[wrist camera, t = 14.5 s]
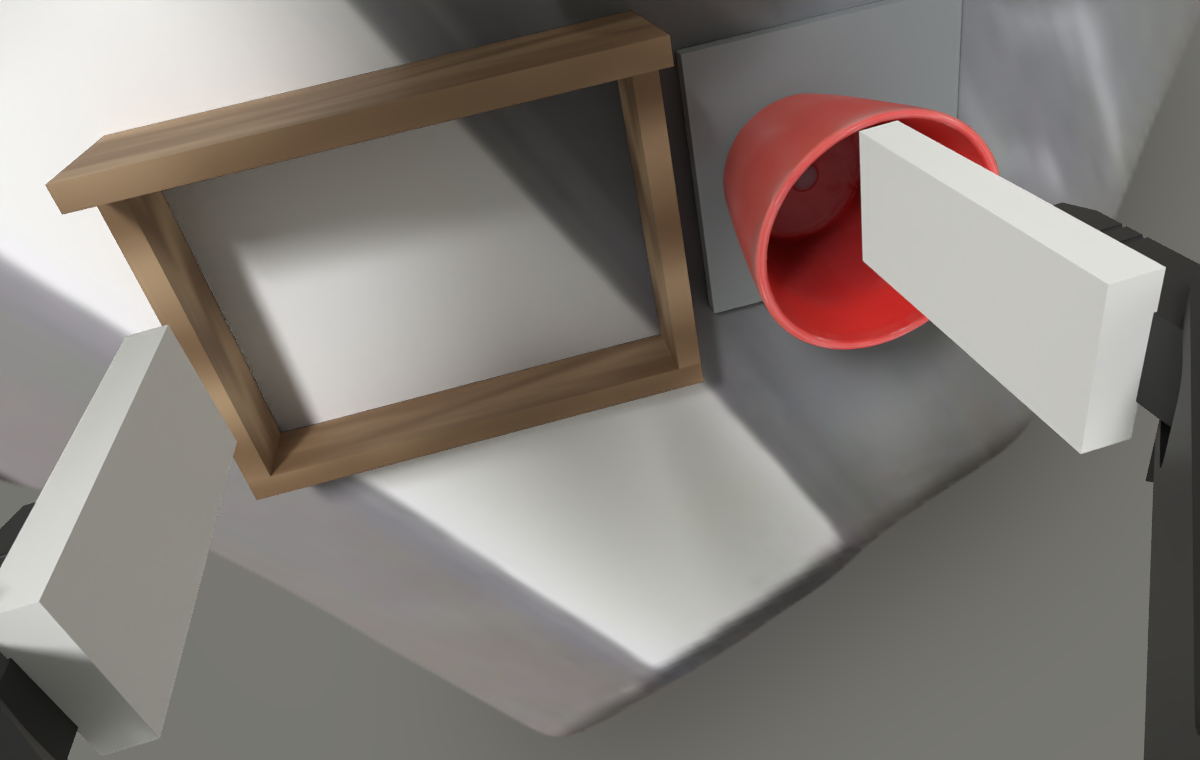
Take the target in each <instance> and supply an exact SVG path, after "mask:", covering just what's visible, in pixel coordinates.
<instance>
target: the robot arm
mask: <svg viewBox="0 0 1200 760" xmlns="http://www.w3.org/2000/svg"><path fill="white" fill-rule="evenodd" d="M859 142H860V179H861V215H862V252H863V261H864V262H865V263H866V264H867V265H868V266H869V267H870V268H872V269H873V270H874V271H875V272H876V273H877V274H878V275H879V276H881V277H882V278H883V279H884V280H885V281H886V282H887V283H888V284H890V285H891V286H892V287H893V288H894V289H895V290H896V291H897V292H899V293H900V294H901V295H902V296H903V297H904V298H905V299H906V300H908V301H909V302H910V303H911V304H912V305H913V306H914V307H916V308H917V309H918V310H919V311H920V312H921V313H922V314H923V315H925V316H926V317H927V318H928V319H929V320H930V321H931V322H932V323H934V324H935V325H936V326H937V327H938V328H939V329H940V330H941V331H943V332H944V333H945V334H946V335H947V336H948V337H949V338H951V339H952V340H953V341H954V342H955V343H956V344H957V345H958V346H960V347H961V348H962V349H963V350H964V351H965V352H966V353H967V354H969V355H970V356H971V357H972V358H973V359H974V360H975V361H976V362H978V363H979V364H980V365H981V366H982V367H983V368H984V369H985V370H987V371H988V372H989V373H990V374H991V375H992V376H993V377H995V378H996V379H997V380H998V381H999V382H1000V383H1001V384H1002V385H1004V386H1005V387H1006V388H1007V389H1008V390H1009V391H1010V392H1011V393H1013V394H1014V395H1015V396H1016V397H1017V398H1018V399H1019V400H1020V401H1022V402H1023V403H1024V404H1025V405H1026V406H1027V407H1028V408H1030V409H1031V410H1032V411H1033V412H1034V413H1035V414H1036V415H1037V416H1039V417H1040V418H1041V419H1042V420H1043V421H1044V422H1045V423H1047V424H1048V425H1049V426H1050V427H1051V428H1052V429H1053V430H1054V431H1055V432H1057V433H1058V434H1059V435H1060V436H1061V437H1062V438H1064V440H1066V441H1067V442H1068V443H1069V444H1070V445H1071V446H1073V447H1074V448H1075V449H1076V450H1077V451H1078V452H1079V453H1080V454H1082V453H1086V452H1089V451H1092V450H1095V449H1099V448H1102V447H1105V446H1108V445H1112V444H1114V443H1118V442H1121V441H1124V440H1128V439H1131V436H1132V431H1133V426H1134V421H1135V416H1136V411H1137V406H1138V403H1139V404H1140V405H1141V406H1143V407H1144V408H1145V409H1147V410H1148V411H1149V412H1151V413H1152V414H1154V415H1155V416H1156V417H1157V418H1159V419H1160V420H1159V424H1158V429H1157V433H1156V438H1155V443H1154V447H1153V451H1152V456H1151V460H1150V464H1149V469H1148V473H1147V477H1146V481H1149V482H1153V483H1154V484H1153V511H1152V540H1151V570H1150V597H1149V599H1150V600H1149V627H1148V657H1147V684H1146V713H1145V714H1146V715H1145V741H1144V742H1145V743H1144V760H1200V264H1198V263H1196V262H1194V261H1192V260H1190V259H1188V258H1186V257H1184V256H1183V255H1181V254H1179V253H1177V252H1175V251H1173V250H1171V249H1169V248H1167V247H1165V246H1163V245H1161V244H1159V243H1158V242H1156V241H1154V240H1152V239H1150V238H1148V237H1147V238H1143V237H1142V234H1140V233H1138V232H1136V231H1135V230H1132V229H1131V228H1129V227H1122V224H1121V223H1119V222H1117V221H1115V220H1113V219H1111V218H1110V217H1108V216H1106V215H1104V214H1102V213H1100V212H1098V211H1096V210H1091V209H1087V208H1083V207H1079V206H1075V205H1070V204H1066V203H1059V204H1056V205H1051V204H1049V203H1047V202H1046V201H1044V200H1042V199H1040V198H1038V197H1036V196H1035V195H1033V194H1031V193H1029V192H1027V191H1025V190H1024V189H1022V188H1020V187H1018V186H1016V185H1014V184H1013V183H1011V182H1009V181H1007V180H1005V179H1004V178H1002V177H1000V176H998V175H996V174H994V173H993V172H991V171H989V170H987V169H985V168H983V167H982V166H980V165H978V164H976V163H974V162H972V161H971V160H969V159H967V158H965V157H963V156H961V155H960V154H958V153H956V152H954V151H952V150H951V149H949V148H947V147H945V146H943V145H941V144H940V143H938V142H936V141H934V140H932V139H930V138H929V137H927V136H925V135H923V134H921V133H919V132H918V131H916V130H914V129H912V128H910V127H909V126H907V125H905V124H903V123H901V122H899V121H898V120H897V121H894V122H890V123H887V124H883V125H879V126H876V127H872V128H869V129H865V130H862V131H859ZM236 444H237V441H236V439H235V438H234V436H233V434H232V433H231V431H230V429H229V427H228V426H227V424H226V422H225V421H224V419H223V417H222V416H221V414H220V412H219V410H218V409H217V407H216V405H215V404H214V402H213V400H212V398H211V397H210V395H209V393H208V392H207V390H206V388H205V386H204V385H203V383H202V381H201V380H200V378H199V376H198V374H197V373H196V371H195V369H194V368H193V366H192V364H191V363H190V361H189V359H188V357H187V356H186V354H185V352H184V351H183V349H182V347H181V345H180V344H179V342H178V340H177V339H176V337H175V335H174V333H173V332H172V330H171V328H170V327H169V325H165V326H161V327H158V328H154V329H151V330H147V331H143V332H140V333H136V334H133V335H129V336H126V337H125V339H124V341H123V343H122V344H121V346H120V348H119V350H118V352H117V354H116V355H115V357H114V359H113V361H112V363H111V365H110V367H109V368H108V370H107V372H106V374H105V376H104V378H103V379H102V381H101V383H100V385H99V387H98V389H97V390H96V392H95V394H94V396H93V398H92V400H91V402H90V403H89V405H88V407H87V409H86V411H85V413H84V414H83V416H82V418H81V420H80V422H79V424H78V426H77V427H76V429H75V431H74V433H73V435H72V437H71V438H70V440H69V442H68V444H67V446H66V448H65V449H64V451H63V453H62V455H61V457H60V459H59V461H58V462H57V464H56V466H55V468H54V470H53V472H52V473H51V475H50V477H49V479H48V481H47V483H46V485H45V486H44V488H43V490H42V492H41V494H40V496H39V498H38V499H37V501H36V502H35V503H31V504H28V505H25V506H23V507H22V508H21V509H20V510H19V511H18V512H17V513H16V514H15V515H14V516H13V517H12V518H11V519H10V520H9V521H8V522H7V523H6V524H5V525H4V526H3V527H2V528H1V529H0V760H68V759H67V758H68V755H69V752H70V749H71V746H72V743H73V740H74V738H75V735H76V732H77V731H78V732H79V733H80V734H81V735H82V736H83V737H84V738H85V739H86V740H87V741H88V742H89V743H90V744H91V745H92V746H93V747H94V748H95V749H96V750H97V751H98V752H99V753H100V754H101V756H103V755H107V754H110V753H113V752H117V751H120V750H123V749H126V748H129V747H133V746H136V745H139V744H142V743H146V742H149V741H152V740H155V739H159V738H160V735H161V731H162V727H163V723H164V719H165V715H166V712H167V708H168V704H169V700H170V697H171V693H172V689H173V685H174V681H175V677H176V674H177V670H178V666H179V662H180V658H181V654H182V651H183V646H184V643H185V639H186V635H187V631H188V627H189V624H190V620H191V616H192V612H193V608H194V605H195V601H196V597H197V593H198V589H199V585H200V582H201V578H202V574H203V570H204V566H205V562H206V558H207V555H208V551H209V547H210V543H211V539H212V536H213V532H214V528H215V524H216V520H217V516H218V513H219V509H220V505H221V501H222V497H223V493H224V490H225V486H226V482H227V478H228V474H229V470H230V467H231V463H232V459H233V455H234V451H235V447H236Z"/></svg>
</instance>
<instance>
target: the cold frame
mask: <svg viewBox="0 0 1200 760" xmlns="http://www.w3.org/2000/svg"><path fill="white" fill-rule="evenodd" d="M673 66H674V62H673V54H672V47H671V39H670V35H669V34H668V33H666V32H665V31H663V30H661V29H660V28H658V27H657V26H655V25H654V24H652V23H651V22H649V21H647V20H646V19H644V18H643V17H641V16H640V15H638V14H636V13H635V12H633V11H632V10H631V11H627V12H622V13H618V14H614V15H610V16H606V17H601V18H597V19H593V20H589V21H585V22H580V23H576V24H572V25H568V26H564V27H559V28H555V29H551V30H547V31H543V32H538V33H534V34H530V35H526V36H522V37H517V38H513V39H509V40H505V41H501V42H496V43H492V44H488V45H484V46H479V47H475V48H471V49H467V50H463V51H458V52H454V53H450V54H446V55H442V56H437V57H433V58H429V59H425V60H421V61H416V62H412V63H408V64H404V65H400V66H395V67H391V68H387V69H383V70H379V71H374V72H370V73H366V74H362V75H358V76H353V77H349V78H345V79H341V80H336V81H332V82H328V83H324V84H320V85H315V86H311V87H307V88H303V89H299V90H294V91H290V92H286V93H282V94H278V95H273V96H269V97H265V98H261V99H257V100H252V101H248V102H244V103H240V104H236V105H231V106H227V107H223V108H219V109H214V110H210V111H206V112H202V113H198V114H193V115H189V116H185V117H181V118H177V119H172V120H168V121H164V122H160V123H156V124H151V125H147V126H143V127H139V128H135V129H130V130H126V131H122V132H118V133H114V134H109V135H105V136H103V137H102V138H101V139H100V140H98V141H97V142H96V143H95V144H94V145H92V146H91V147H90V148H89V149H88V150H86V151H85V152H84V153H83V154H82V155H80V156H79V157H78V158H77V159H76V160H74V161H73V162H72V163H71V164H70V165H68V166H67V167H66V168H65V169H64V170H62V171H61V172H60V173H59V174H58V175H56V176H55V177H54V178H53V179H52V180H50V181H49V182H48V183H47V184H46V187H47V189H48V191H49V192H50V194H51V196H52V198H53V199H54V201H55V203H56V205H57V206H58V208H59V210H60V212H61V213H62V214H67V213H71V212H75V211H79V210H83V209H87V208H91V207H95V206H97V207H98V209H99V211H100V212H101V214H102V216H103V218H104V220H105V222H106V224H107V225H108V227H109V229H110V231H111V233H112V235H113V236H114V238H115V240H116V242H117V244H118V246H119V247H120V249H121V251H122V253H123V255H124V257H125V258H126V260H127V262H128V264H129V266H130V268H131V270H132V271H133V273H134V275H135V277H136V279H137V281H138V282H139V284H140V286H141V288H142V290H143V292H144V293H145V295H146V297H147V299H148V301H149V303H150V304H151V306H152V308H153V310H154V312H155V314H156V316H157V317H158V319H159V321H160V323H161V325H162V326H165V325H169V327H170V328H171V330H172V332H173V333H174V335H175V337H176V339H177V340H178V342H179V344H180V345H181V347H182V349H183V351H184V352H185V354H186V356H187V357H188V359H189V361H190V363H191V364H192V366H193V368H194V369H195V371H196V373H197V374H198V376H199V378H200V380H201V381H202V383H203V385H204V386H205V388H206V390H207V392H208V393H209V395H210V397H211V398H212V400H213V402H214V404H215V405H216V407H217V409H218V410H219V412H220V414H221V416H222V417H223V419H224V421H225V422H226V424H227V426H228V427H229V429H230V431H231V433H232V434H233V436H234V438H235V439H236V441H237V444H236V447H235V451H234V455H233V457H234V459H235V461H236V463H237V465H238V466H239V468H240V470H241V472H242V474H243V476H244V477H245V479H246V481H247V483H248V485H249V487H250V489H251V490H252V492H253V494H254V496H255V498H256V500H259V499H263V498H267V497H270V496H274V495H278V494H282V493H286V492H289V491H293V490H297V489H301V488H304V487H308V486H312V485H316V484H319V483H323V482H327V481H331V480H335V479H338V478H342V477H346V476H350V475H353V474H357V473H361V472H365V471H368V470H372V469H376V468H380V467H384V466H387V465H391V464H395V463H399V462H402V461H406V460H410V459H414V458H418V457H421V456H425V455H429V454H433V453H436V452H440V451H444V450H448V449H451V448H455V447H459V446H463V445H467V444H470V443H474V442H478V441H482V440H485V439H489V438H493V437H497V436H500V435H504V434H508V433H512V432H516V431H519V430H523V429H527V428H531V427H534V426H538V425H542V424H546V423H550V422H553V421H557V420H561V419H565V418H568V417H572V416H576V415H580V414H583V413H587V412H591V411H595V410H599V409H602V408H606V407H610V406H614V405H617V404H621V403H625V402H629V401H632V400H636V399H640V398H644V397H648V396H651V395H655V394H659V393H663V392H666V391H670V390H674V389H678V388H682V387H685V386H689V385H693V384H697V383H700V382H704V381H703V374H702V368H701V361H700V354H699V347H698V340H697V333H696V326H695V319H694V312H693V305H692V298H691V291H690V284H689V277H688V270H687V263H686V257H685V250H684V243H683V236H682V229H681V222H680V215H679V208H678V201H677V194H676V187H675V180H674V173H673V166H672V159H671V153H670V146H669V139H668V132H667V125H666V118H665V111H664V104H663V97H662V90H661V83H660V76H659V70H661V69H665V68H669V67H673ZM615 80H617V81H618V87H619V93H620V98H621V104H622V110H623V116H624V122H625V128H626V133H627V139H628V145H629V151H630V157H631V163H632V168H633V174H634V180H635V186H636V192H637V198H638V204H639V209H640V215H641V221H642V227H643V233H644V239H645V244H646V250H647V256H648V262H649V268H650V274H651V279H652V285H653V291H654V297H655V303H656V309H657V315H658V320H659V326H660V332H661V334H659V335H655V336H651V337H648V338H644V339H640V340H636V341H632V342H628V343H625V344H621V345H617V346H613V347H609V348H606V349H602V350H598V351H594V352H590V353H586V354H583V355H579V356H575V357H571V358H567V359H563V360H560V361H556V362H552V363H548V364H544V365H540V366H537V367H533V368H529V369H525V370H521V371H517V372H514V373H510V374H506V375H502V376H498V377H494V378H491V379H487V380H483V381H479V382H475V383H471V384H468V385H464V386H460V387H456V388H452V389H448V390H445V391H441V392H437V393H433V394H429V395H425V396H422V397H418V398H414V399H410V400H406V401H402V402H399V403H395V404H391V405H387V406H383V407H379V408H376V409H372V410H368V411H364V412H360V413H356V414H353V415H349V416H345V417H341V418H337V419H333V420H330V421H326V422H322V423H318V424H314V425H310V426H307V427H303V428H299V429H295V430H291V431H288V432H284V433H281V432H280V430H279V428H278V426H277V424H276V422H275V420H274V418H273V416H272V414H271V412H270V410H269V408H268V406H267V404H266V402H265V400H264V398H263V396H262V394H261V392H260V390H259V388H258V386H257V384H256V382H255V380H254V378H253V376H252V374H251V371H250V369H249V367H248V365H247V363H246V361H245V359H244V357H243V355H242V353H241V351H240V349H239V347H238V345H237V343H236V341H235V339H234V337H233V335H232V333H231V331H230V329H229V327H228V325H227V323H226V321H225V319H224V317H223V315H222V313H221V311H220V309H219V307H218V305H217V303H216V301H215V299H214V297H213V295H212V293H211V291H210V289H209V286H208V284H207V282H206V280H205V278H204V276H203V274H202V272H201V270H200V268H199V266H198V264H197V262H196V260H195V258H194V256H193V254H192V252H191V250H190V248H189V246H188V244H187V242H186V240H185V238H184V236H183V234H182V232H181V230H180V228H179V226H178V224H177V222H176V220H175V218H174V216H173V214H172V212H171V210H170V208H169V206H168V204H167V201H166V199H165V197H164V195H163V193H162V191H161V190H166V189H170V188H174V187H178V186H182V185H186V184H190V183H194V182H199V181H203V180H207V179H211V178H215V177H219V176H223V175H227V174H232V173H236V172H240V171H244V170H248V169H252V168H256V167H260V166H265V165H269V164H273V163H277V162H281V161H285V160H289V159H293V158H298V157H302V156H306V155H310V154H314V153H318V152H322V151H326V150H331V149H335V148H339V147H343V146H347V145H351V144H355V143H359V142H364V141H368V140H372V139H376V138H380V137H384V136H388V135H392V134H397V133H401V132H405V131H409V130H413V129H417V128H421V127H425V126H430V125H434V124H438V123H442V122H446V121H450V120H454V119H458V118H463V117H467V116H471V115H475V114H479V113H483V112H487V111H491V110H496V109H500V108H504V107H508V106H512V105H516V104H520V103H524V102H529V101H533V100H537V99H541V98H545V97H549V96H553V95H557V94H562V93H566V92H570V91H574V90H578V89H582V88H586V87H590V86H595V85H599V84H603V83H607V82H611V81H615Z"/></svg>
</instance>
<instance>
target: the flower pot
mask: <svg viewBox="0 0 1200 760" xmlns="http://www.w3.org/2000/svg"><path fill="white" fill-rule="evenodd" d="M897 120H898V121H899V122H901V123H903V124H905V125H907V126H909V127H910V128H912V129H914V130H916V131H918V132H919V133H921V134H923V135H925V136H927V137H929V138H930V139H932V140H934V141H936V142H938V143H940V144H941V145H943V146H945V147H947V148H949V149H951V150H952V151H954V152H956V153H958V154H960V155H961V156H963V157H965V158H967V159H969V160H971V161H972V162H974V163H976V164H978V165H980V166H982V167H983V168H985V169H987V170H989V171H991V172H993V173H994V174H996V175H998V176H1000V175H999V171H998V167H997V164H996V161H995V159H994V157H993V154H992V153H991V151H990V149H989V148H988V146H987V145H986V143H985V142H984V140H983V139H982V138H981V137H980V136H979V135H978V134H977V133H976V132H975V131H974V130H973V129H972V128H971V127H969V126H968V125H967V124H965V123H964V122H962V121H961V120H959V119H957V118H955V117H953V116H951V115H949V114H946V113H943V112H940V111H936V110H932V109H927V108H922V107H916V106H911V105H904V104H898V103H891V102H884V101H878V100H871V99H865V98H858V97H850V96H842V95H831V94H813V93H804V94H796V95H791V96H788V97H785V98H782V99H780V100H777V101H775V102H773V103H771V104H769V105H768V106H766V107H765V108H763V109H762V110H760V111H759V112H758V113H757V114H756V115H754V116H753V117H752V118H751V119H750V120H749V121H748V122H747V123H746V124H745V126H744V127H743V128H742V129H741V131H740V132H739V133H738V135H737V136H736V138H735V140H734V142H733V144H732V145H731V148H730V150H729V153H728V155H727V159H726V163H725V168H724V176H723V186H724V194H725V199H726V203H727V206H728V209H729V213H730V216H731V220H732V223H733V226H734V229H735V233H736V236H737V238H738V241H739V244H740V246H741V249H742V252H743V255H744V257H745V260H746V263H747V265H748V268H749V270H750V273H751V275H752V278H753V280H754V283H755V285H756V288H757V290H758V292H759V294H760V296H761V298H762V300H763V302H764V304H765V306H766V308H767V310H768V311H769V313H770V314H771V316H772V317H773V318H774V319H775V321H776V322H777V323H778V324H779V325H780V326H781V327H782V328H783V329H784V330H786V331H787V332H788V333H790V334H791V335H793V336H794V337H796V338H798V339H800V340H802V341H804V342H806V343H809V344H812V345H815V346H819V347H823V348H828V349H857V348H865V347H871V346H875V345H879V344H882V343H885V342H889V341H891V340H894V339H896V338H898V337H901V336H903V335H905V334H907V333H909V332H911V331H913V330H915V329H916V328H918V327H920V326H922V325H923V324H925V323H926V322H928V321H929V319H928V318H927V317H926V316H925V315H923V314H922V313H921V312H920V311H919V310H918V309H917V308H916V307H914V306H913V305H912V304H911V303H910V302H909V301H908V300H906V299H905V298H904V297H903V296H902V295H901V294H900V293H899V292H897V291H896V290H895V289H894V288H893V287H892V286H891V285H890V284H888V283H887V282H886V281H885V280H884V279H883V278H882V277H881V276H879V275H878V274H877V273H876V272H875V271H874V270H873V269H872V268H870V267H869V266H868V265H867V264H866V263H865V262H864V261H863V252H862V215H861V179H860V142H859V131H862V130H865V129H869V128H872V127H876V126H879V125H883V124H887V123H890V122H894V121H897Z"/></svg>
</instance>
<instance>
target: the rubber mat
mask: <svg viewBox="0 0 1200 760" xmlns="http://www.w3.org/2000/svg"><path fill="white" fill-rule="evenodd" d="M961 15H962V0H883V1H879V2H875V3H870V4H866V5H862V6H858V7H854V8H850V9H846V10H841V11H837V12H833V13H829V14H825V15H821V16H817V17H812V18H808V19H804V20H800V21H796V22H792V23H788V24H783V25H779V26H775V27H771V28H767V29H763V30H759V31H754V32H750V33H746V34H742V35H738V36H734V37H730V38H725V39H721V40H717V41H713V42H709V43H705V44H701V45H696V46H692V47H688V48H684V49H680V50H676V59H677V66H678V74H679V82H680V89H681V97H682V104H683V112H684V119H685V127H686V135H687V142H688V150H689V157H690V165H691V172H692V180H693V188H694V195H695V203H696V210H697V218H698V225H699V233H700V241H701V248H702V256H703V263H704V271H705V278H706V286H707V294H708V301H709V306H710V308H711V309H712V311H713V312H714V314H715V313H718V312H722V311H726V310H730V309H734V308H738V307H741V306H745V305H749V304H753V303H757V302H761V301H763V300H762V298H761V296H760V294H759V292H758V290H757V288H756V285H755V283H754V280H753V278H752V275H751V273H750V270H749V268H748V265H747V263H746V260H745V257H744V255H743V252H742V249H741V246H740V244H739V241H738V238H737V236H736V233H735V229H734V226H733V223H732V220H731V216H730V213H729V209H728V206H727V203H726V199H725V194H724V186H723V176H724V168H725V163H726V159H727V155H728V153H729V150H730V148H731V145H732V144H733V142H734V140H735V138H736V136H737V135H738V133H739V132H740V131H741V129H742V128H743V127H744V126H745V124H746V123H747V122H748V121H749V120H750V119H751V118H752V117H753V116H754V115H756V114H757V113H758V112H759V111H760V110H762V109H763V108H765V107H766V106H768V105H769V104H771V103H773V102H775V101H777V100H780V99H782V98H785V97H788V96H791V95H796V94H804V93H813V94H831V95H842V96H850V97H858V98H865V99H871V100H878V101H884V102H891V103H898V104H904V105H911V106H916V107H922V108H927V109H932V110H936V111H940V112H943V113H946V114H949V115H951V116H953V117H955V118H957V105H958V83H959V60H960V38H961Z"/></svg>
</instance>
